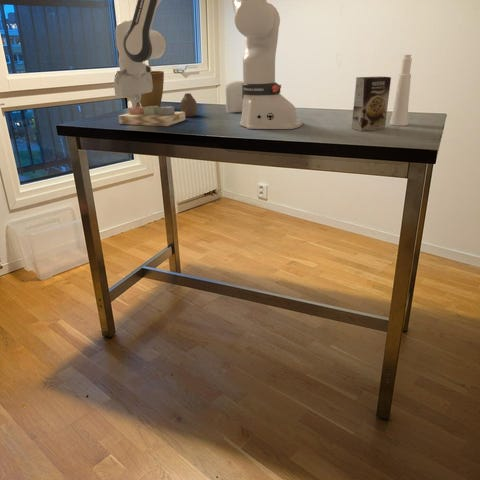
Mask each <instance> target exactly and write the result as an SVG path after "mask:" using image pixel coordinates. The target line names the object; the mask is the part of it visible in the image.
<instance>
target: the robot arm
mask: <svg viewBox="0 0 480 480" xmlns="http://www.w3.org/2000/svg"><path fill="white" fill-rule="evenodd" d="M162 1H163V0H137V2H136V5H135V8H134V9H135V10H134V14H133V17H132V19H128V20H123V21H120V22H118V23H117V24H116V27H115V42H116V50H117V52H118V65H119V70H117V71H116V73H115V74H114V82H113V87H114V95H115V97H116V98H119V99H125V98H128V99H129V101H130V103H131V106H132V107H131V108H137V107H141V104H140V101H141V94H144V93H149V92H152V89H153V84H152V76H151V74H150V73H151V71H152V67H151V66H149V65H148V64H146V63H144V62H146V61H152V60H157V59H159V58H161V57H163V56H164V54H165V53H166V51H167V42H166V38H165V36H164V35H163V34H162V33H161V32H159V31H156V30H154V29H151V28H152V27H153V22H154V18H155V14H156V11H157V9H158V7H159V5H160V3H161V2H162ZM231 3H232V9H233V13H234V24H235V27H236V29H237V31H238V32H239V33H240V34H241V35H242V36H244V37H245V38H246V41H245V43H246V44H245V48H244V54H243V57H242V81H243V83H242V98H243V109H242V112H241V117H240V122H239V125H240V126H242V127H244V128H247V129H250V130H252V129H254V130H292V129H297V128H299V127H302V126H303V124H304V123H303V120H302V119H299V118H297V117H298V116H297V110H296V107H295V105H294V104H293V103H292V102H290V101H289V100H288V99H287V98H286V97H284V96H283V95H282V94H281V89H282V84H279V83H278V82H276V57H277V56H276V55H277V53H276V52H277V46H278V39H279V38H278V37H279V29H280V25H281V17H280V13H279V11H278V10H277V8H276V6H274V5H273V4H272V3H269V2H268V1H267V0H231Z"/></svg>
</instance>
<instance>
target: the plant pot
mask: <svg viewBox="0 0 480 480" xmlns="http://www.w3.org/2000/svg"><path fill="white" fill-rule="evenodd" d="M150 74H151V76H152V84H153V89H152V92H149V93H144V94H141V101H140V107H147V106H159V108H160V107H161V104H162V100H163V94H164V91H163V90H164V82H165V81H164V80H165V78H164V77H165V72H164V71H163V70H151V73H150Z"/></svg>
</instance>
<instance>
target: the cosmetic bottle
mask: <svg viewBox="0 0 480 480" xmlns="http://www.w3.org/2000/svg"><path fill="white" fill-rule="evenodd" d="M412 59H413V58H412V54H403V58H402V59H401V61H402V62H401V69H400V70H401V71H400V74H398V75H399V76H398V80H397V85H396V86H397V87H396V93H395V97H394V103H393V109H392V112H391V117H390V121H389V125H391V126H396V127H402V126H409V102H410V91H411V90H410V89H411V79H412V74H410V73H411V69H412Z"/></svg>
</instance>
